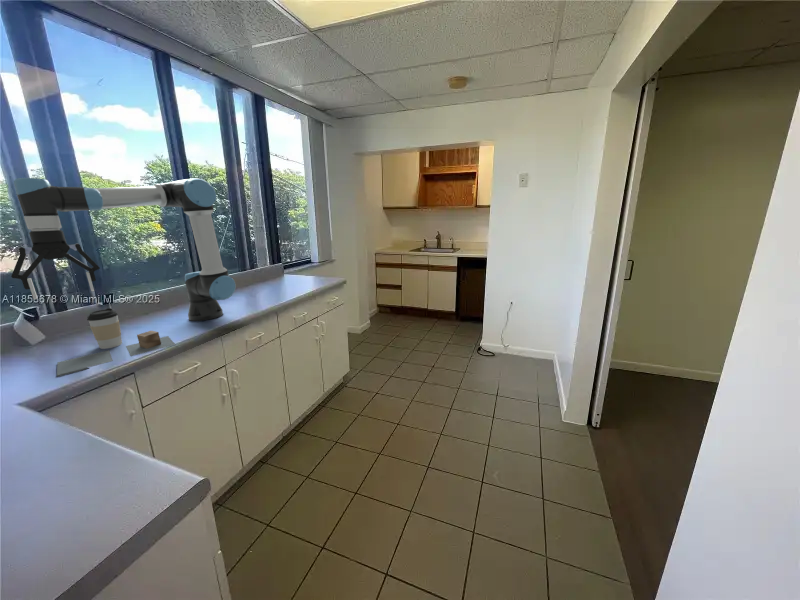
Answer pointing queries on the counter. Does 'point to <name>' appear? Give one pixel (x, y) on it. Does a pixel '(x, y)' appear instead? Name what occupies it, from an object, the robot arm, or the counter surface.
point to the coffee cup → (105, 328)
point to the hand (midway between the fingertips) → (65, 294)
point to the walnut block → (149, 339)
